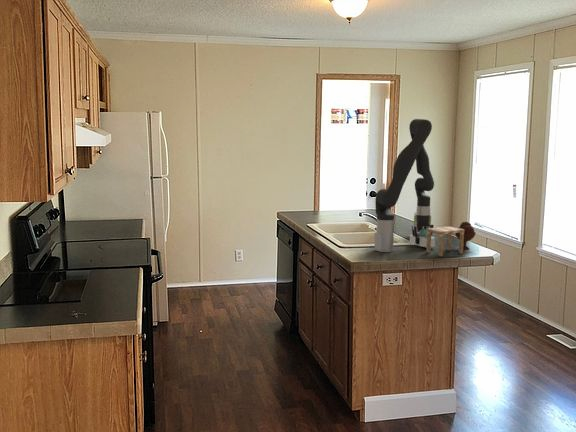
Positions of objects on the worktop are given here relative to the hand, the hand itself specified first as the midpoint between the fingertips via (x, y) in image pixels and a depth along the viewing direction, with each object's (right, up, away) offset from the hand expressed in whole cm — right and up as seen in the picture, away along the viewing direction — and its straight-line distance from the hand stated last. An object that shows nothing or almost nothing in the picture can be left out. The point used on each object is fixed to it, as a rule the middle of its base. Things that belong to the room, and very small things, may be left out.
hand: (422, 243), depth 340 cm
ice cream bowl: (+23, -3, -3) cm, 23 cm away
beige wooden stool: (+9, -4, -15) cm, 18 cm away
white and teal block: (0, -1, 0) cm, 1 cm away
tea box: (+6, +2, +28) cm, 29 cm away
